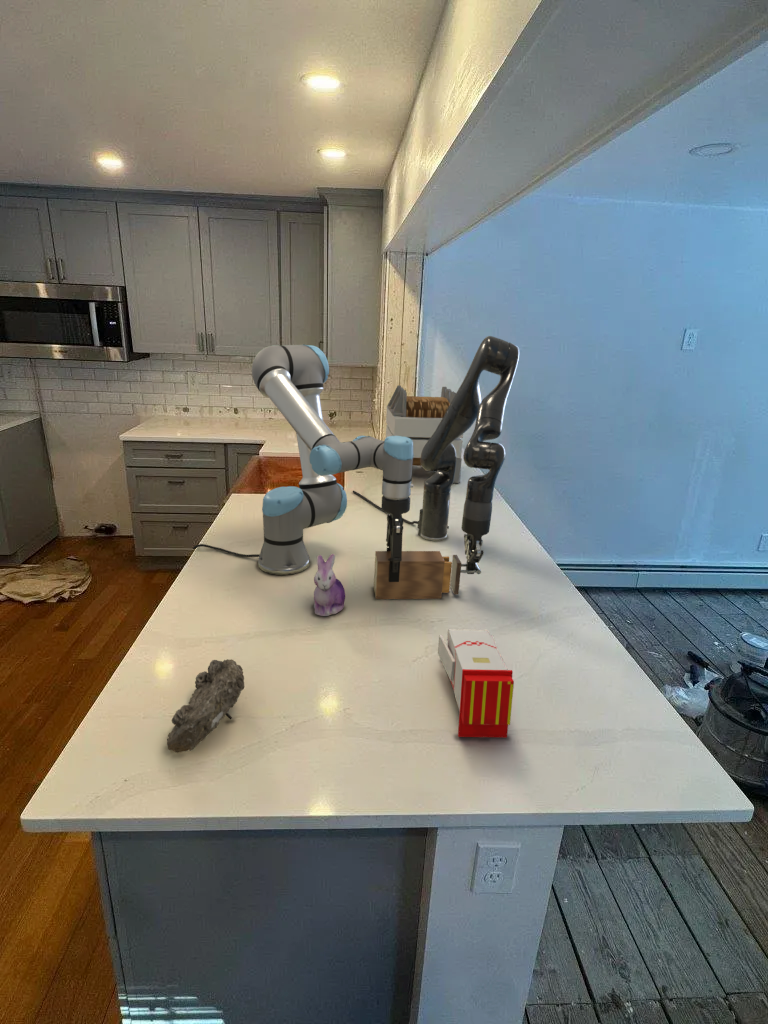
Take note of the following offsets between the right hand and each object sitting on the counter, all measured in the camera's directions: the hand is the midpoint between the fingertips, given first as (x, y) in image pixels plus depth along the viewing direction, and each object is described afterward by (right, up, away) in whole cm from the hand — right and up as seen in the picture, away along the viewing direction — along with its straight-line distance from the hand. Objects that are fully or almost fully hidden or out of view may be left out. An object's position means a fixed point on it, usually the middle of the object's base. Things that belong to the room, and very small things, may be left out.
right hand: (469, 572), depth 158 cm
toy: (-6, -21, -40) cm, 45 cm away
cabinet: (-18, -6, 0) cm, 18 cm away
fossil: (-57, -22, -50) cm, 79 cm away
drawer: (-9, -5, +1) cm, 10 cm away
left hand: (-22, 0, -2) cm, 22 cm away
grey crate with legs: (-7, +36, +117) cm, 122 cm away
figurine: (-38, -8, -10) cm, 41 cm away
